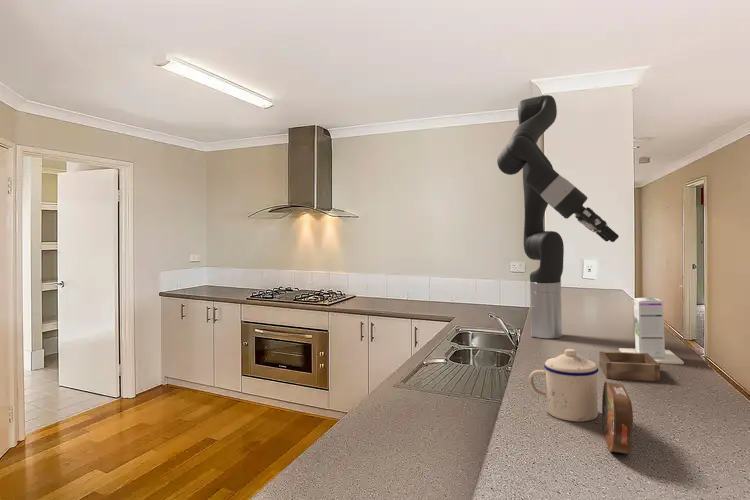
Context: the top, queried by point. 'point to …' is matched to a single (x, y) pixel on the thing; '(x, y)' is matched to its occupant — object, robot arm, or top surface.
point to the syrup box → (649, 327)
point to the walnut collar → (629, 366)
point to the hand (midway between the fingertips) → (612, 239)
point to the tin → (617, 417)
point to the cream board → (668, 359)
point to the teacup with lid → (569, 387)
